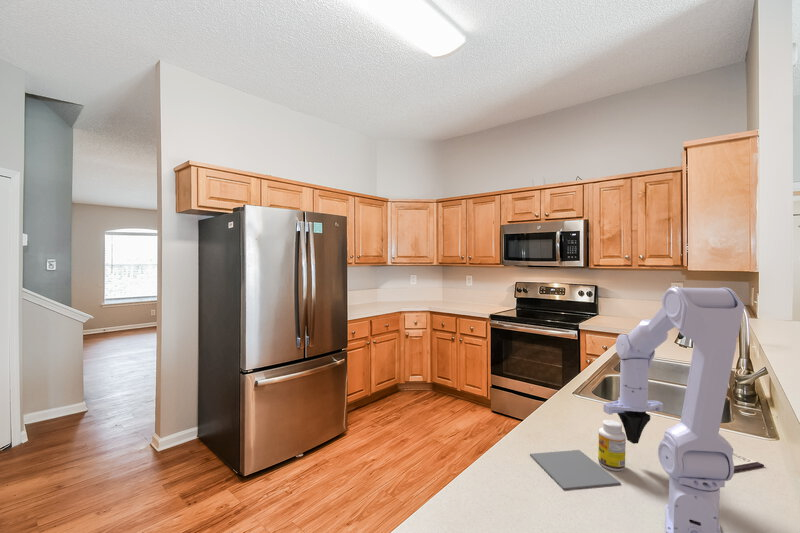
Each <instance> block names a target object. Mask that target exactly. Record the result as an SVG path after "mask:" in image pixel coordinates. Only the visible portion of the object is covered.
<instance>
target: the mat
mask: <svg viewBox="0 0 800 533" xmlns="http://www.w3.org/2000/svg"><path fill="white" fill-rule="evenodd" d="M529 456H530V457H531V458H532V459H533V461H534V462H536V463H537V464H538V465H539V466H540V467H541V469H543V470H544V471H545V473H547V475H549V477H550V478H551V479H552V480H553V481H554V482H555V483H556V484H557V485H558V486H559V487H560V488H561V490H563V491H568V490H577V489H586V488H588V489H589V488H597V487H599V488H600V487H608V486H617V485H621V482H620V480H618V479H616V478H615V476H613V475H612V474H610V473H609V472H608V471H606V470H605V468H604V467H603V466H602V467H601V466H600V464H598V463H597V462H595V461H594V460H593V459H592V458H590V457H589V456H588V455H587V454H585V453H584V452H583V451H581V450H580V449H575V450H561V451H549V452H538V453H537V452H535V453H530V454H529Z"/></svg>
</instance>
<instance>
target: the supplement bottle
mask: <svg viewBox="0 0 800 533" xmlns="http://www.w3.org/2000/svg"><path fill="white" fill-rule="evenodd" d="M622 428H623V424H622V423H621V422H619V421H616V420H613V419H604V420H602V427H600V428H599V430H598V456H597V457H598V458H597V459H598V460H597V461H598V463H599V465H601V466H602V468H604V469H605V468H606V469H607V470H610V471H614V472H621V471H623V470H625V468H626V448H627V447H626V440H627V437H626V433H625V432H623V429H622Z"/></svg>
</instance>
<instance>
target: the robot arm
mask: <svg viewBox="0 0 800 533" xmlns="http://www.w3.org/2000/svg"><path fill="white" fill-rule="evenodd" d="M744 310H745V305H744V304H743V302H742V300H741V299H740V298H739V296H738V295H737V293H736V292H735V291H734V290H733V289H731V288H729V287H726V286H725V287H724V286H723V287H680V286H671V287H669V288H667V290H666V291H665V293H664V294H662V298H661V308H660V309H659V310H657V312H656V314H655V315H654V316H653V317H652V319H650V318H647V319H645V318H644V319H641V321H640V322H639V324H637V326H635V327H634V328H633V329H632V330H631V332H629V333H628V334H623V333H622V334H619V335H618V336H617V338H616V341H615V350H616V354H617V356H618V357H619V358H620V364H619V365H620V369H619V370H620V371H619V373H620V374H619V397H617V400H614V401H610V402H605V403H604V402H603V408H602V410H603V412H604V413H606V414H608V415H609V416H611V415H613V414H617V415H618V417H619V419H620V421H621V424H622V427H623V430H624V431H625V432H624V434H625V436H626V440H627V441H628V442H630V443H631V444H634V445H635V444H639V442H640V438H641V436H642V433H643V431H644V429H645V427H646V426H647V424H648V423H649V422H650V421H651V415H650V414H649V413H647V412H652V411H653V412H655V411H657V412H660V413H661V412H664V403H662V402H661V401H659V400H649V397H648V396H649V369H651V367H652V365H653V364H652V363H653V362H652V361H653V359H654V357H655V354H656V349H657V348H658V347H660V346H661V345H662V344H663V343H665V342H667V339H669V338H668V337H669V331H671V330H672V329H673V328H676V329H677V331H678V332H679V333H680V335H681V336H683V337H685V338H686V339H689V340H691V341H692V343H693V350H692V354H691V360H690V365H689V372H688V377H687V384H686V388H685V394H684V400H683V405H682V406H683V407H682V410H681V411H682V412H681V416H680V417H681V418H680V422H678V423H677V424H674V425H673V426H671V427H669V428H667V429H666V430H665V431H664V436H663V438H662V440H661V441H660V442H659V444H658V447H657V456H658V461H659V463H660V465H661V467H662V469H663V470H664V471H665V473H666V474H667V476H668V477H669V478H668V479H669V480H668V481H669V484H668V504H665V533H722V530H721V525H720V494H721V493H720V492H721V488H725V486H726V482H728V481H731V480H732V478H733V477H734V473H735V472H734V463H733V458H732V455H733V451H734V448H733V446H732V445H731V444H730V442H729V441H728V440H727V439H726V438H725V437H724V436H723V435H721V434H720V427H721V422H722V418H723V413H724V408H725V403H726V398H727V393H728V389H729V384H730V379H731V373H732V368H733V364H734V358H735V353H736V349H737V338H739V335H740V330H741V324H742V319H743V315H744Z"/></svg>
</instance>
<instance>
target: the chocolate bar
mask: <svg viewBox="0 0 800 533" xmlns="http://www.w3.org/2000/svg"><path fill="white" fill-rule="evenodd" d="M732 458H733V463H734V473H737V472H744V471H748V470H755V469H761V468H765V465H764V464H763V463H760V462H759V461H756V460H755V459H751V458H749V457H747V456H745V455H743V454H741V453H738V452H736V451H734V450H733V455H732Z"/></svg>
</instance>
